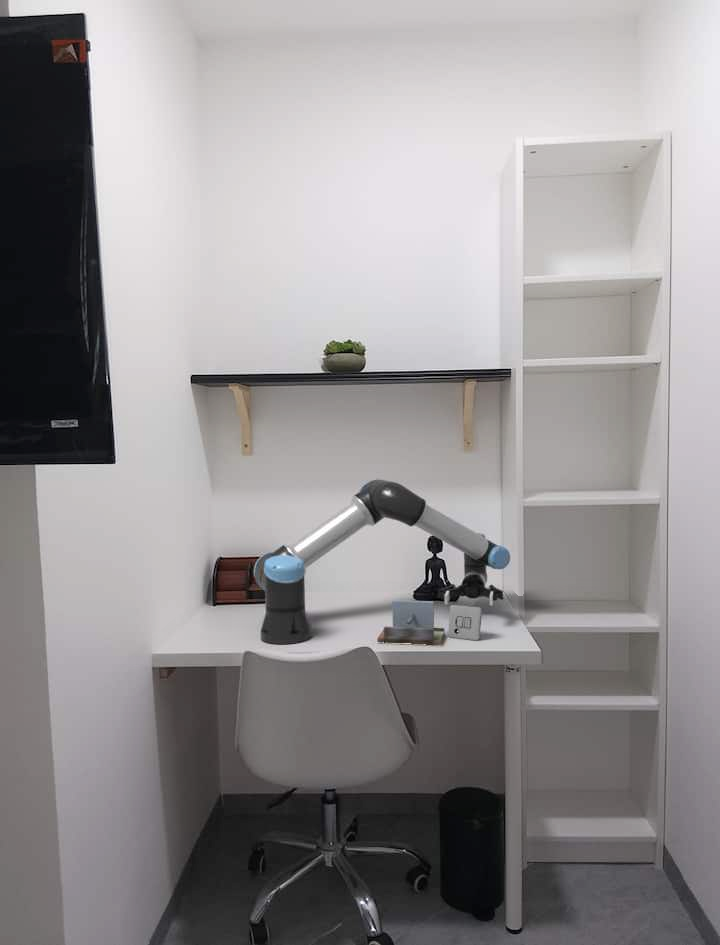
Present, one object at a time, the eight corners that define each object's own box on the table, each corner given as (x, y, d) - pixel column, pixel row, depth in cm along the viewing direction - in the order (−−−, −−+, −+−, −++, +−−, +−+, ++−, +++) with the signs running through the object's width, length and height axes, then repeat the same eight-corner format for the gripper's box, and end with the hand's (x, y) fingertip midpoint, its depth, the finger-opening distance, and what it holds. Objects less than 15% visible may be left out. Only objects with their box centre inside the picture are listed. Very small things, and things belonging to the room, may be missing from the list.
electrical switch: (447, 637, 208) (448, 605, 209) (453, 634, 213) (454, 603, 213) (478, 641, 204) (479, 608, 204) (484, 638, 209) (484, 606, 209)
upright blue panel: (388, 636, 205) (387, 607, 204) (393, 628, 213) (393, 600, 213) (440, 638, 201) (440, 608, 201) (444, 630, 210) (443, 601, 209)
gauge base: (377, 643, 204) (377, 627, 204) (384, 633, 214) (383, 618, 214) (440, 646, 200) (440, 630, 200) (444, 635, 210) (444, 620, 210)
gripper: (512, 596, 236) (510, 613, 215) (436, 595, 242) (427, 611, 221) (511, 574, 236) (509, 588, 215) (435, 573, 241) (427, 587, 221)
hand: (468, 600), depth 218 cm, fingers open, 13 cm apart
